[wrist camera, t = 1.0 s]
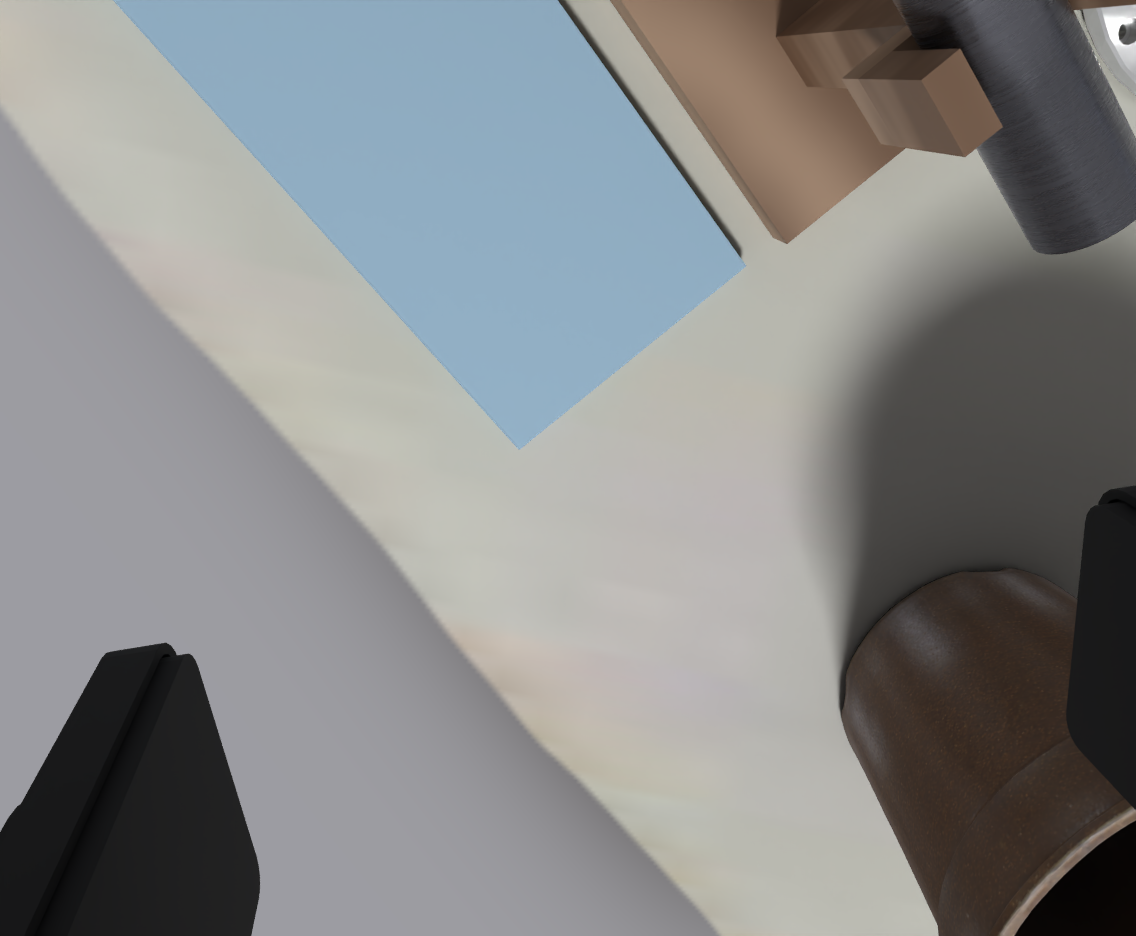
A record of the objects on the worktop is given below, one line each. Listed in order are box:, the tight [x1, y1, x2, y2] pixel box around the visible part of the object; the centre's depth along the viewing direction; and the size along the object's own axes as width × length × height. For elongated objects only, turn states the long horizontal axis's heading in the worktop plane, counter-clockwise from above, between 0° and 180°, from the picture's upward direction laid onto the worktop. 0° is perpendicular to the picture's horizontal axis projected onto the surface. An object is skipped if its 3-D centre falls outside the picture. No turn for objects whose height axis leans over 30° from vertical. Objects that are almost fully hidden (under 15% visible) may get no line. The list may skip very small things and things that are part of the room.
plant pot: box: [841, 568, 1136, 936], centre depth 39 cm, size 16×16×16 cm
